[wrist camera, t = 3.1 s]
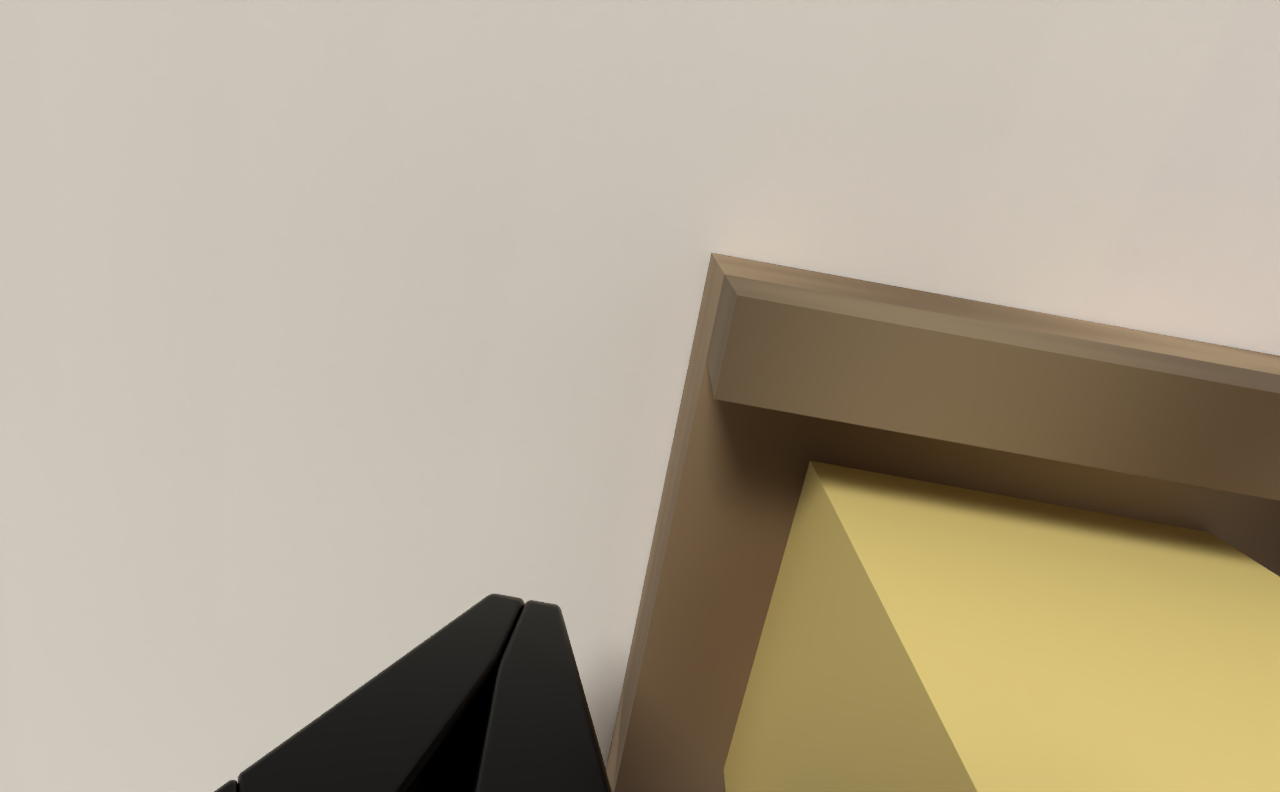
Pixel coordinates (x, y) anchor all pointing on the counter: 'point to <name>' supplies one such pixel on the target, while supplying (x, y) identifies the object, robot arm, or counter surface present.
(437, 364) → the counter surface
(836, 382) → the deck
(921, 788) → the block
